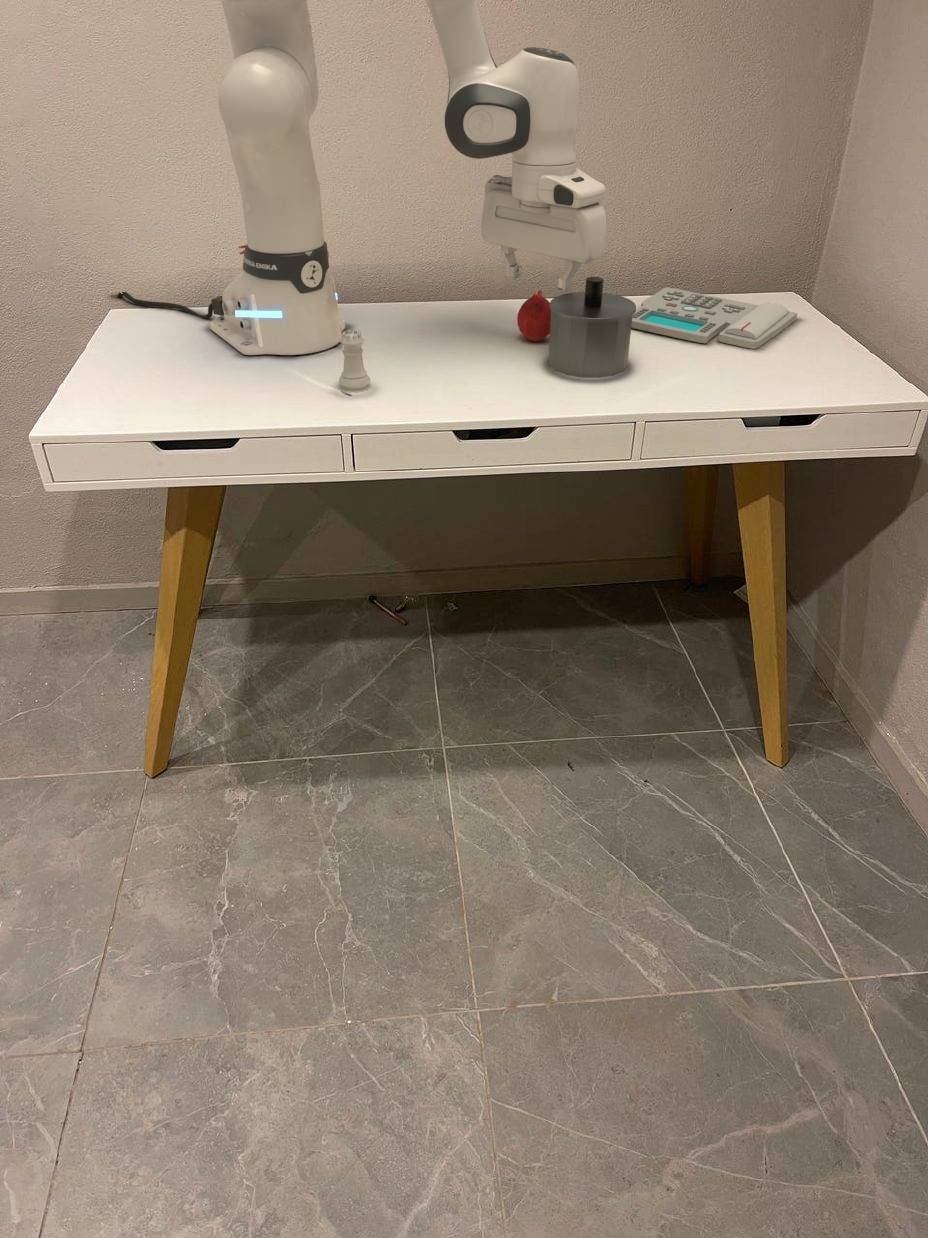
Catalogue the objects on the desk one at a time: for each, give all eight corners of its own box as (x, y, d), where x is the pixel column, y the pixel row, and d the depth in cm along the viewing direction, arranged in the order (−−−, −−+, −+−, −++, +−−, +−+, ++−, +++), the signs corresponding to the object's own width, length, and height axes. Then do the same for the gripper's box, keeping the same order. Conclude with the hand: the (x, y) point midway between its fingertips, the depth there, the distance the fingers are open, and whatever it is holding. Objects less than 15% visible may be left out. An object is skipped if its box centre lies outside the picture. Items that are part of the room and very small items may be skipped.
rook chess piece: (358, 399, 130) (354, 340, 125) (332, 392, 132) (327, 334, 127) (378, 388, 133) (375, 331, 128) (352, 381, 135) (348, 325, 130)
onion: (551, 351, 145) (554, 297, 141) (513, 348, 146) (515, 294, 141) (556, 338, 150) (559, 285, 145) (519, 335, 151) (521, 283, 146)
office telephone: (800, 304, 156) (757, 338, 143) (796, 320, 158) (754, 356, 144) (667, 278, 167) (615, 308, 153) (665, 293, 168) (613, 325, 154)
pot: (532, 366, 140) (535, 307, 135) (582, 347, 146) (586, 290, 142) (592, 387, 134) (597, 326, 129) (641, 367, 140) (648, 308, 135)
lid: (538, 302, 139) (539, 269, 136) (616, 296, 141) (619, 264, 139) (565, 329, 129) (568, 294, 127) (649, 322, 132) (652, 288, 129)
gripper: (472, 176, 138) (471, 274, 146) (589, 196, 127) (582, 301, 135) (499, 169, 142) (497, 265, 150) (616, 188, 131) (607, 291, 139)
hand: (538, 283), depth 143 cm, fingers open, 8 cm apart
